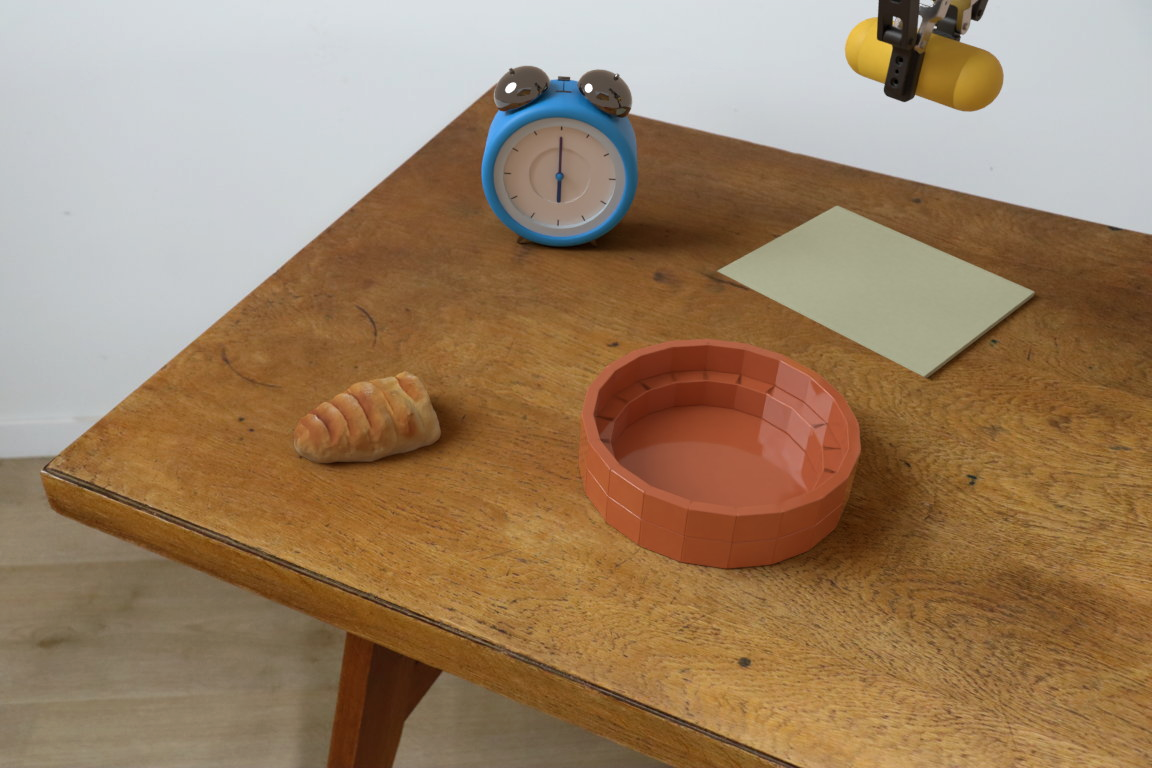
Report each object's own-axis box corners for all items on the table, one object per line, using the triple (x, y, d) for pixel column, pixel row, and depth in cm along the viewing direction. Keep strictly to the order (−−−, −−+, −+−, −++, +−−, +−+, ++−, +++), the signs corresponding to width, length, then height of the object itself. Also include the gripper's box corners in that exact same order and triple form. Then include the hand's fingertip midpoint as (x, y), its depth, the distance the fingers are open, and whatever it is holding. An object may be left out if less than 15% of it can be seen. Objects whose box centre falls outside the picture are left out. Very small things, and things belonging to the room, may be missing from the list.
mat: (836, 209, 105) (837, 205, 104) (1033, 296, 94) (1035, 291, 93) (700, 284, 93) (700, 279, 93) (907, 393, 82) (909, 388, 82)
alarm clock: (481, 246, 96) (479, 80, 87) (487, 212, 101) (487, 51, 92) (631, 254, 96) (646, 89, 87) (630, 219, 101) (644, 60, 92)
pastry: (315, 490, 71) (309, 445, 69) (281, 431, 76) (274, 386, 73) (449, 447, 75) (447, 402, 73) (409, 393, 79) (406, 349, 77)
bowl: (695, 365, 84) (702, 310, 81) (896, 482, 74) (913, 424, 71) (524, 470, 73) (525, 411, 70) (732, 621, 64) (744, 561, 61)
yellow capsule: (828, 74, 85) (839, 17, 82) (860, 60, 87) (871, 4, 85) (975, 127, 78) (992, 66, 75) (1005, 110, 81) (1022, 51, 78)
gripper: (974, -136, 66) (909, 132, 76) (1079, -164, 74) (1008, 81, 85) (866, -160, 70) (818, 98, 80) (978, -184, 78) (921, 53, 89)
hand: (916, 88), depth 82 cm, fingers closed on yellow capsule, 4 cm apart
